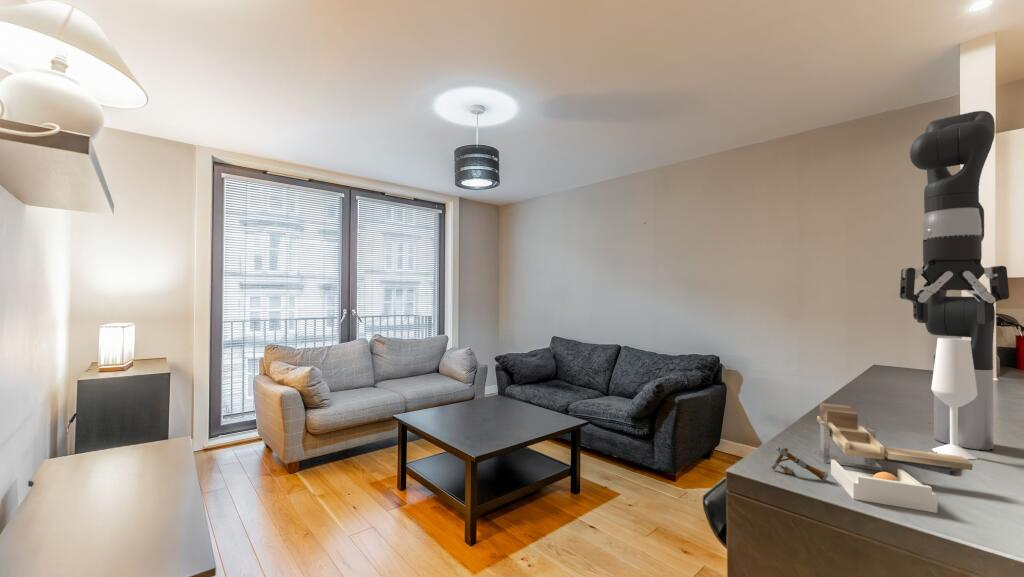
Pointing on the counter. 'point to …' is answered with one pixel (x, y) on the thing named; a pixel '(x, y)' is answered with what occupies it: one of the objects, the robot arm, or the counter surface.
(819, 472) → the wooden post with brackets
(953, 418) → the champagne flute
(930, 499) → the tray
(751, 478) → the counter surface
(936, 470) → the phone
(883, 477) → the ball
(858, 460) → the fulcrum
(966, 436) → the robot arm
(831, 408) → the lever
